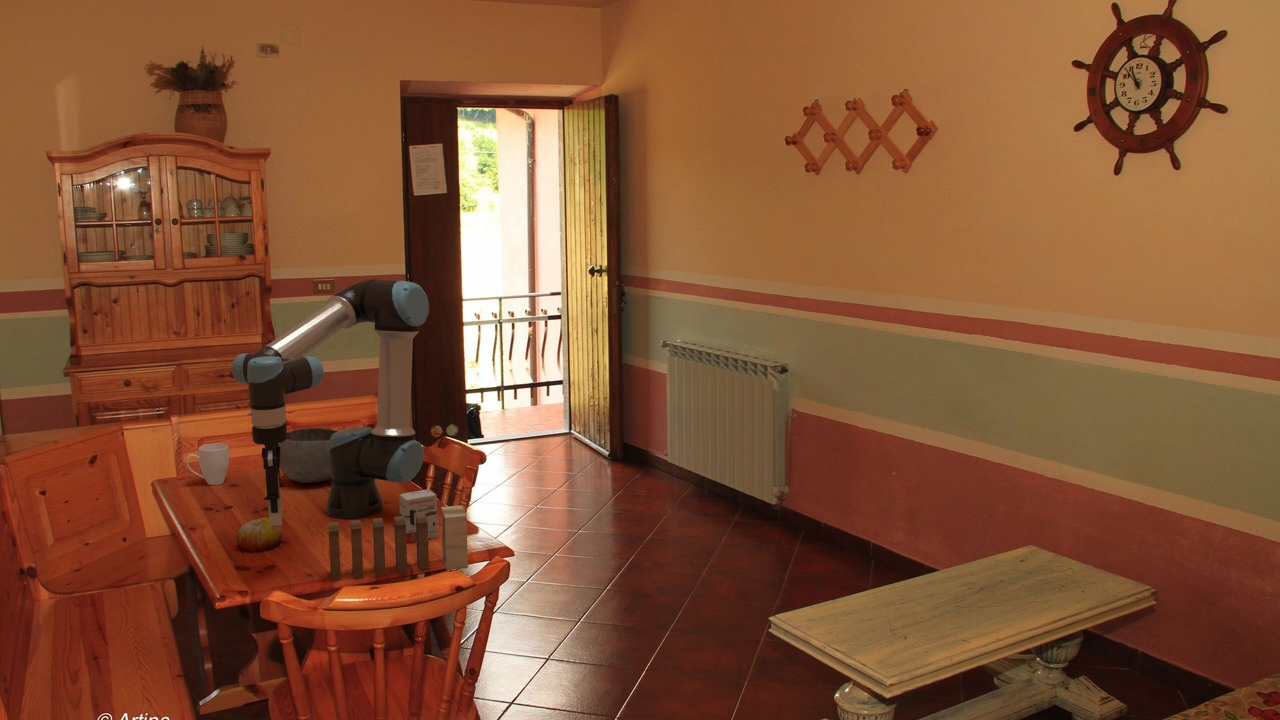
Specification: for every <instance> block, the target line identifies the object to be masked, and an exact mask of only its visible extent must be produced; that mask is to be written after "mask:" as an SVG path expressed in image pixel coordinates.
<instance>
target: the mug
mask: <svg viewBox="0 0 1280 720" xmlns="http://www.w3.org/2000/svg"><path fill="white" fill-rule="evenodd" d="M197 453H198V455H197V454H195V453H190V454H188V455H187V456H186V459H185V465H186V468H187V469H188V470H189V471H190V472H192V473H193V474H194V475H196V476H198V477H200V478H202V479H205V480H206V483H207V484H208V486H218V485H222V484H224V481H225V478H226V476H227V472H228V469H229V466H230V465H229V463H230V458H229V457H230V455H229V453H230V452H229V446H228V444H226V443H221V442H219V443H217V442H215V443H208V444H203V445H200V446H198V452H197ZM191 457H194V458H196V459H197V460H198V464H199V468H200V471H201V473H202V474H199V473H198V472H196V471H195V470H193V468H191V467H190V465H189V459H190V458H191Z"/></svg>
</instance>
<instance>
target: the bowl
mask: <svg viewBox="0 0 1280 720" xmlns="http://www.w3.org/2000/svg"><path fill="white" fill-rule="evenodd" d="M338 431H339V430H337V429H336V430H334V429H333V428H332V429H330V428H322V427H308V428H298V429H293V430H291V431H287V439H286V440H285V441H284V442H281V443H278V447H280V450H281V452H280V468H279V470H280V471H281V472H282V473H283V474H284V475H285V476H286V477H288V478H289V479H291V480H293V481H295V482H299V483H301V484H302V483H304V484H313V483H315V484H316V483H321V482H325V481H328V480H330V479H332V476H331V460H330V438H331V436H332V434H334V433H335V432H338Z"/></svg>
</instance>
